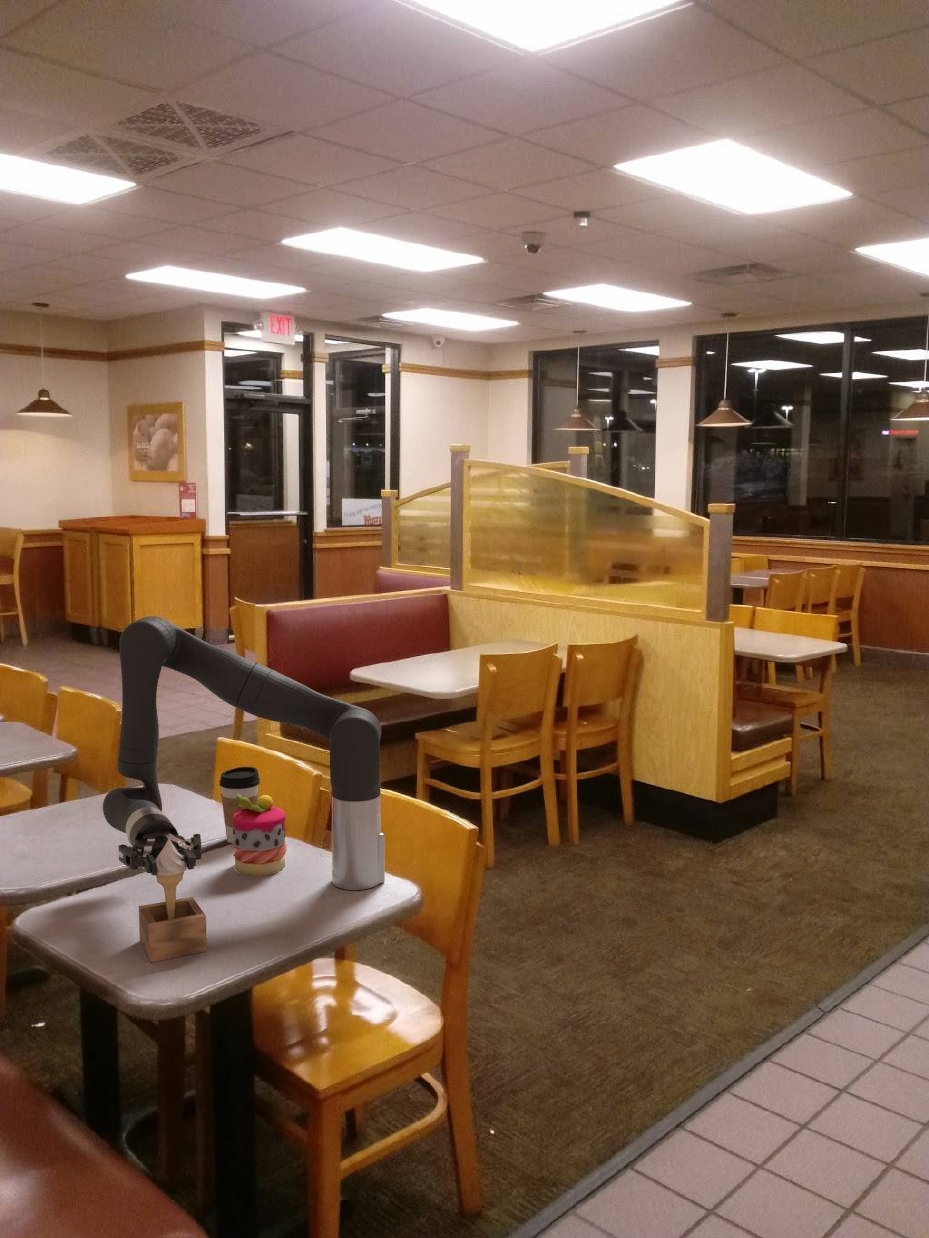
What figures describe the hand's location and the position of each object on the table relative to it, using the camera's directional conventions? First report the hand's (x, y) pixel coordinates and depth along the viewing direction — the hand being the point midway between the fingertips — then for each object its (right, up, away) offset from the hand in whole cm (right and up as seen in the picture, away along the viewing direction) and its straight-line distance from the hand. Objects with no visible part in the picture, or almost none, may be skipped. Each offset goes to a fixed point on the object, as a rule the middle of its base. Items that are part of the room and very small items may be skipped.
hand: (173, 866), depth 167 cm
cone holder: (-1, -14, +4) cm, 15 cm away
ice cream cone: (-1, -11, +4) cm, 11 cm away
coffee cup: (-1, -7, +55) cm, 55 cm away
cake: (+6, -10, +40) cm, 41 cm away
